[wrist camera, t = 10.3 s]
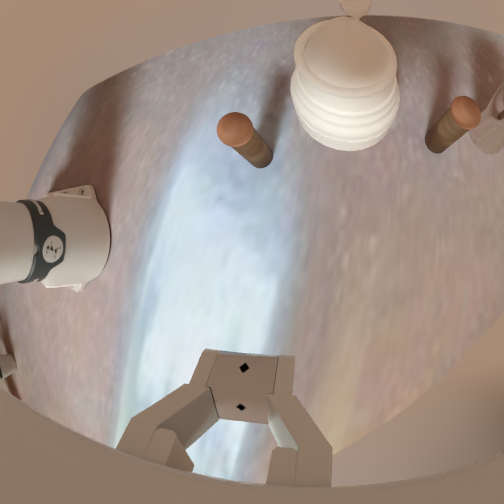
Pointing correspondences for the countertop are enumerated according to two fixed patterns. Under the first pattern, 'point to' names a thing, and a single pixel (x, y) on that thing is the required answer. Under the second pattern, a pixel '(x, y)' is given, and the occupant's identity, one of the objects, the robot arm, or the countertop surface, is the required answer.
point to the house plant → (7, 365)
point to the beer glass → (491, 124)
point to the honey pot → (345, 81)
